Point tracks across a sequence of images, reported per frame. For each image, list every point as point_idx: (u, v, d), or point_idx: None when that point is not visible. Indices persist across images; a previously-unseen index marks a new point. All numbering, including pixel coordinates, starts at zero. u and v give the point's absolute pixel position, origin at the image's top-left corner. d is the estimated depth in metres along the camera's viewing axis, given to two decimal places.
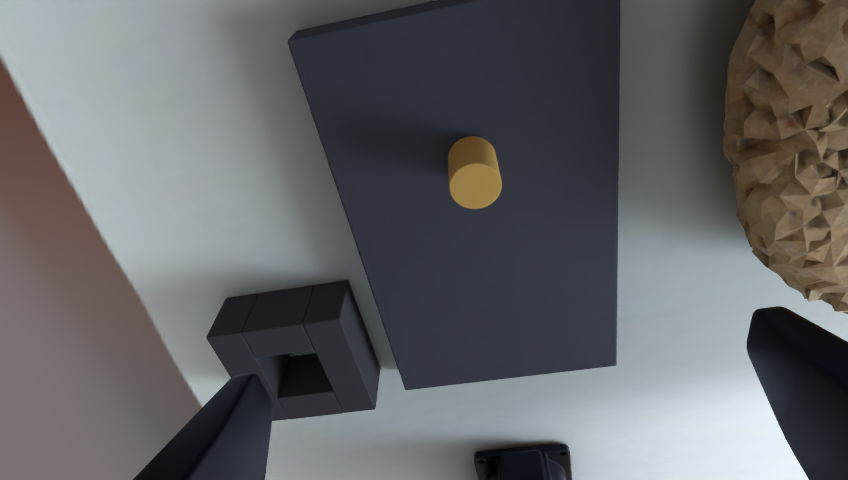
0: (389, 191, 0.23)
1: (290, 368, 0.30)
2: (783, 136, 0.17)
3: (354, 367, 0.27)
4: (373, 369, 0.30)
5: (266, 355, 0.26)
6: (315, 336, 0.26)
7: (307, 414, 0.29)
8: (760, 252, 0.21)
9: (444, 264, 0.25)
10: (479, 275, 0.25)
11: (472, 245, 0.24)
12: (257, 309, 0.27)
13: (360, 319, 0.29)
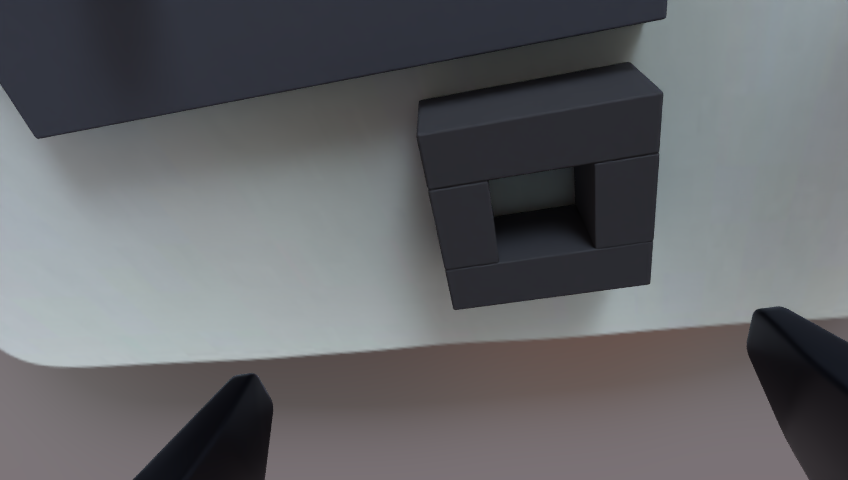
0: (202, 28, 0.15)
1: (580, 211, 0.19)
2: None
3: (535, 121, 0.15)
4: (600, 79, 0.16)
5: (493, 248, 0.17)
6: (455, 175, 0.16)
7: (648, 213, 0.16)
8: None
9: None
10: None
11: None
12: None
13: (495, 89, 0.17)
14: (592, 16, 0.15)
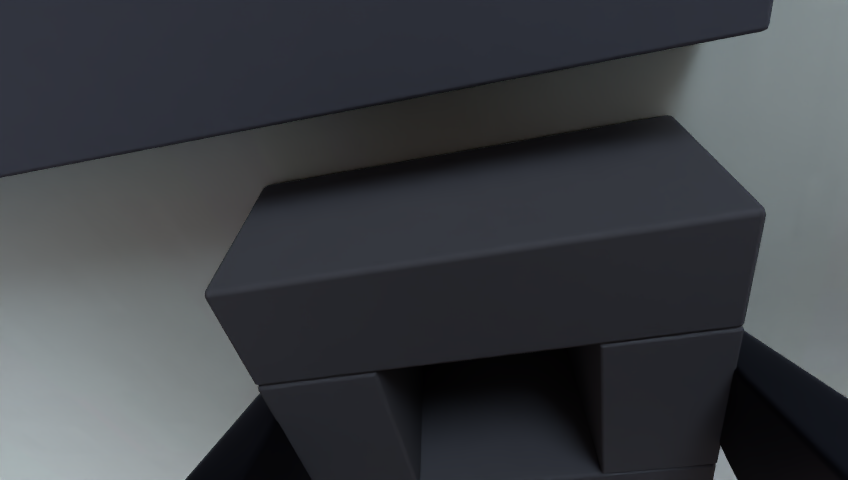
0: None
1: (574, 372, 0.10)
2: None
3: (465, 269, 0.06)
4: (612, 157, 0.07)
5: (405, 471, 0.09)
6: (304, 364, 0.07)
7: (710, 424, 0.08)
8: None
9: None
10: None
11: None
12: None
13: (403, 168, 0.09)
14: (594, 27, 0.06)
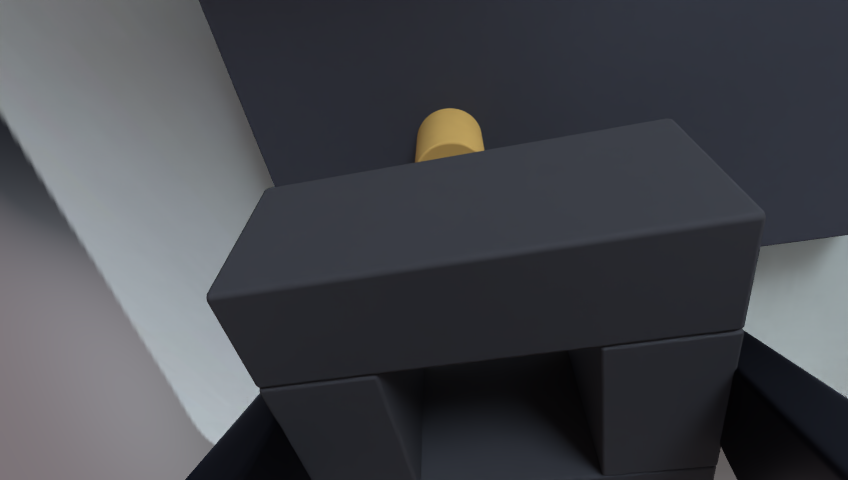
0: None
1: (575, 373, 0.10)
2: None
3: (465, 272, 0.06)
4: (613, 160, 0.08)
5: (406, 473, 0.09)
6: (306, 366, 0.07)
7: (710, 426, 0.08)
8: None
9: None
10: None
11: None
12: None
13: (404, 171, 0.09)
14: (823, 228, 0.18)
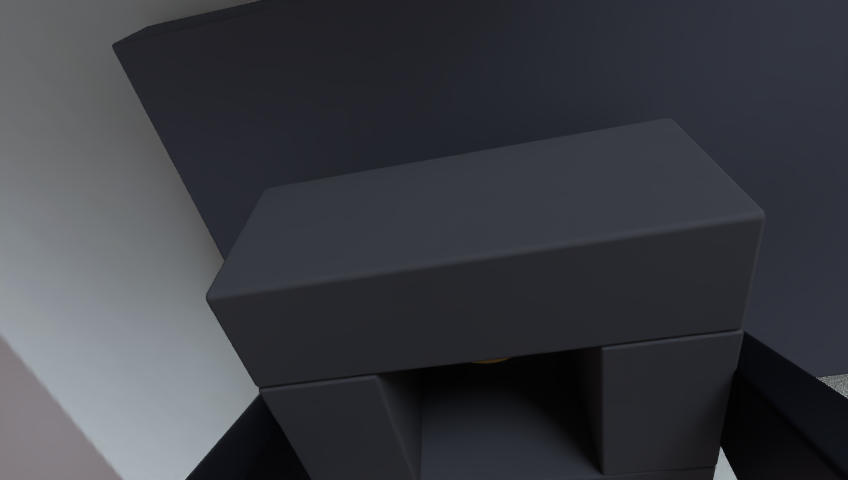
0: None
1: (574, 373, 0.10)
2: None
3: (464, 272, 0.06)
4: (612, 160, 0.08)
5: (406, 473, 0.09)
6: (305, 366, 0.07)
7: (709, 426, 0.08)
8: None
9: None
10: None
11: None
12: None
13: (404, 170, 0.09)
14: None
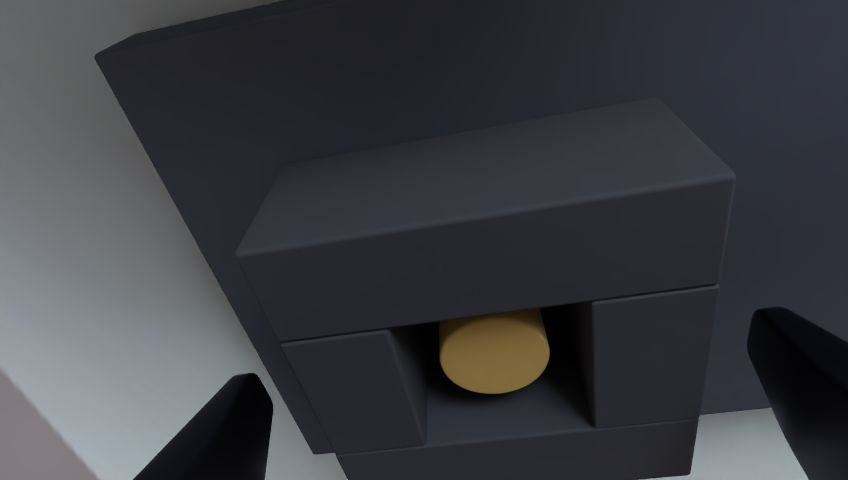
0: None
1: (569, 340, 0.11)
2: None
3: (468, 229, 0.07)
4: (602, 133, 0.08)
5: (413, 426, 0.10)
6: (323, 321, 0.08)
7: (691, 378, 0.09)
8: None
9: (724, 311, 0.12)
10: (782, 252, 0.11)
11: None
12: None
13: (411, 146, 0.09)
14: None
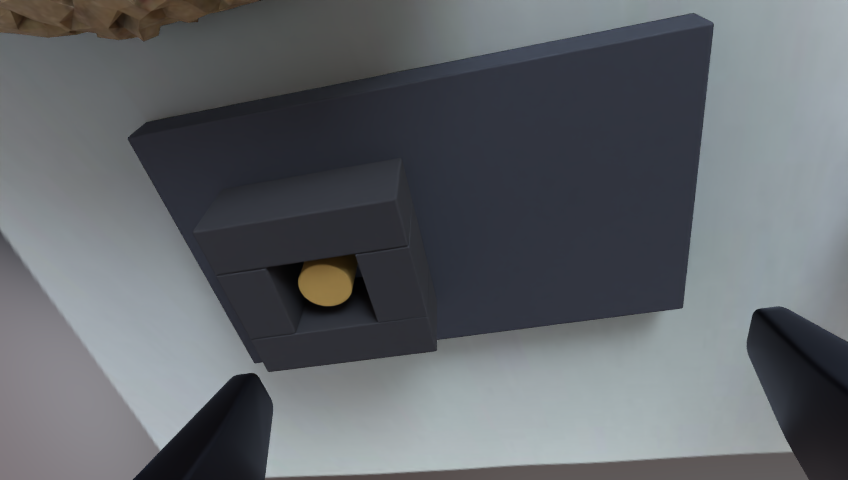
0: None
1: None
2: None
3: (291, 221, 0.17)
4: (364, 177, 0.18)
5: (287, 321, 0.19)
6: (234, 264, 0.18)
7: (414, 293, 0.18)
8: None
9: (472, 268, 0.21)
10: (491, 235, 0.20)
11: (446, 243, 0.21)
12: None
13: (284, 181, 0.19)
14: (635, 307, 0.23)
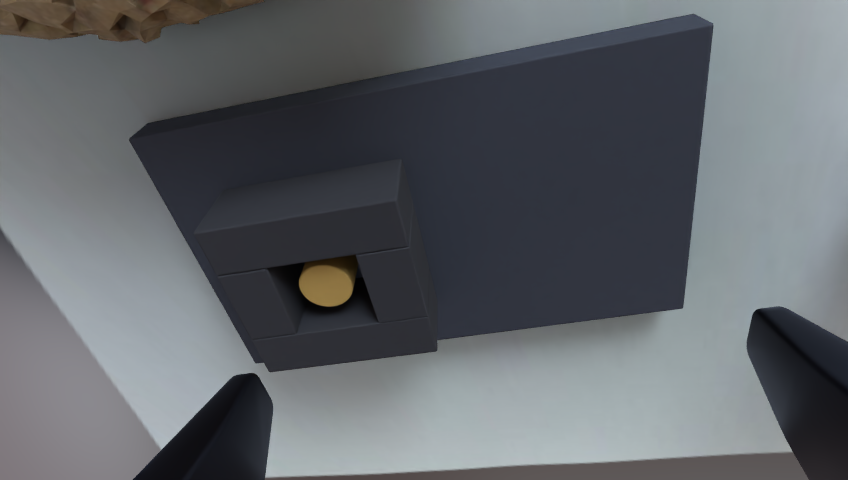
0: None
1: None
2: None
3: (292, 222, 0.17)
4: (365, 178, 0.18)
5: (288, 322, 0.19)
6: (235, 264, 0.18)
7: (415, 294, 0.18)
8: None
9: (473, 268, 0.22)
10: (491, 235, 0.21)
11: (447, 243, 0.21)
12: None
13: (285, 181, 0.19)
14: (635, 307, 0.23)
